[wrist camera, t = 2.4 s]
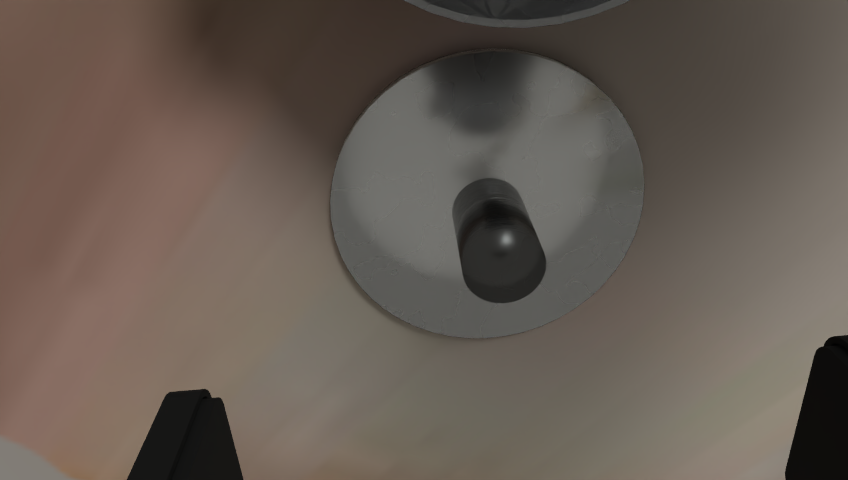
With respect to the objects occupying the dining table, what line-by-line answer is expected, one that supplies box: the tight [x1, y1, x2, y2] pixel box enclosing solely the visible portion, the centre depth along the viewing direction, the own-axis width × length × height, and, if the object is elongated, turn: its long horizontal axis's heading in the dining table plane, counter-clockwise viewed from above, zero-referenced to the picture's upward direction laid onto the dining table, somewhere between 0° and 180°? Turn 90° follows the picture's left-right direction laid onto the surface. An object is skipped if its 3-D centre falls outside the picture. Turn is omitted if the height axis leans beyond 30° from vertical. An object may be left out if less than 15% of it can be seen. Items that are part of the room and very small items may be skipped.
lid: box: [330, 48, 644, 338], centre depth 27 cm, size 14×14×6 cm
